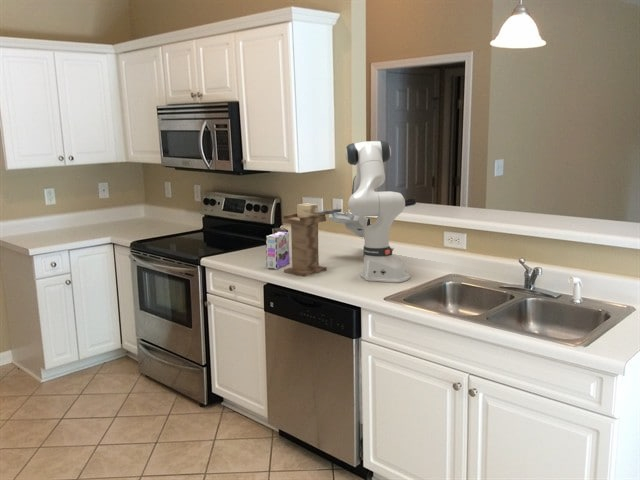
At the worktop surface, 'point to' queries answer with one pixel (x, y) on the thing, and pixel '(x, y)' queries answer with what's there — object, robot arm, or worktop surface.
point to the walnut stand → (304, 244)
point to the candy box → (277, 250)
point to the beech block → (312, 210)
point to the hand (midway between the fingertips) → (338, 212)
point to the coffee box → (279, 230)
